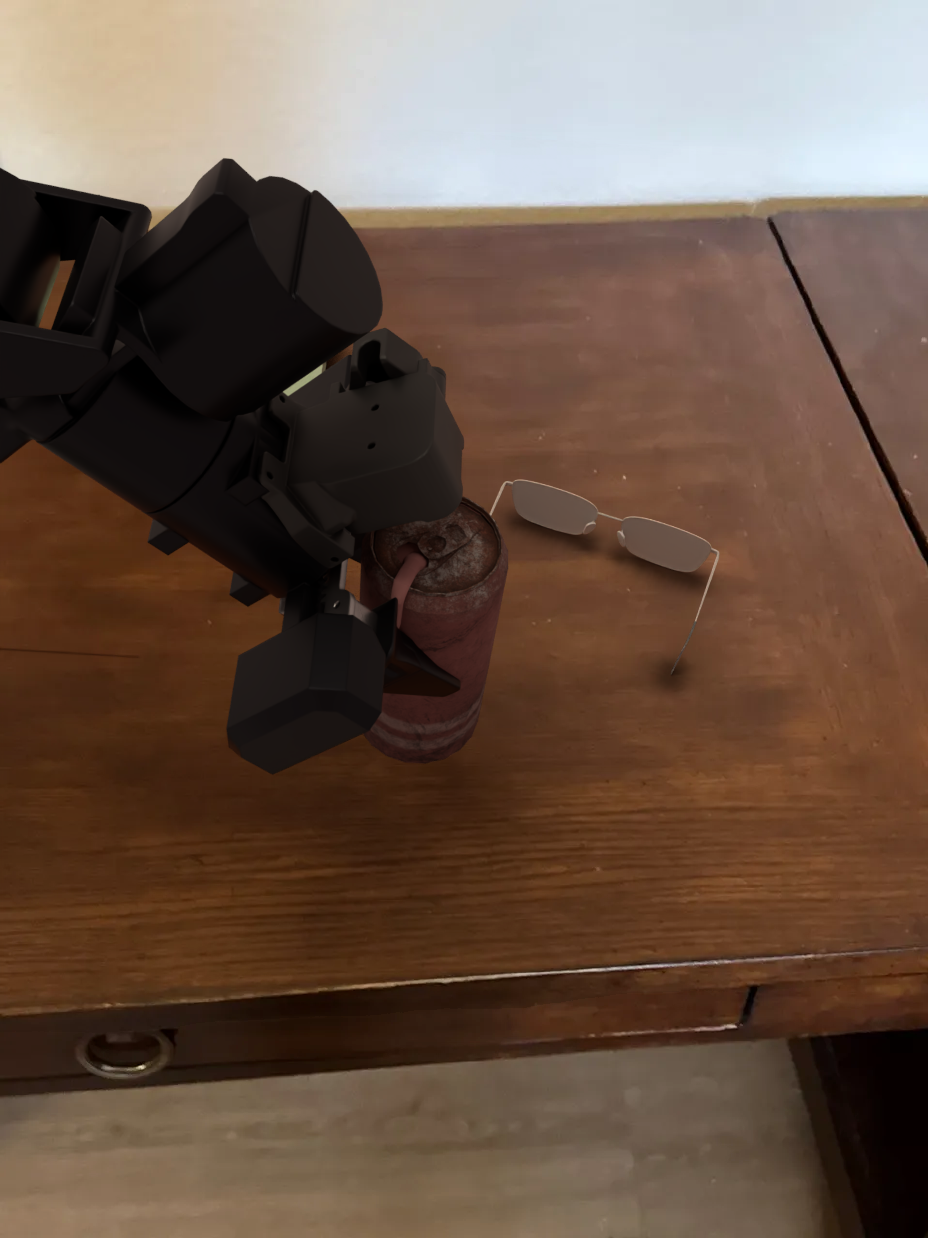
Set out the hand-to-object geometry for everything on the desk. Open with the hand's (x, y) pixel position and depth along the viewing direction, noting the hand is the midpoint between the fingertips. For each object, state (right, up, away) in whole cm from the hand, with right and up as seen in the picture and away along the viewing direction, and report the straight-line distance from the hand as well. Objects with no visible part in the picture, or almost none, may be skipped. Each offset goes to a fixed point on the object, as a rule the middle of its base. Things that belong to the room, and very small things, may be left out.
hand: (454, 642), depth 55 cm
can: (-2, -4, +6) cm, 7 cm away
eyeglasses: (+8, +3, +20) cm, 21 cm away
